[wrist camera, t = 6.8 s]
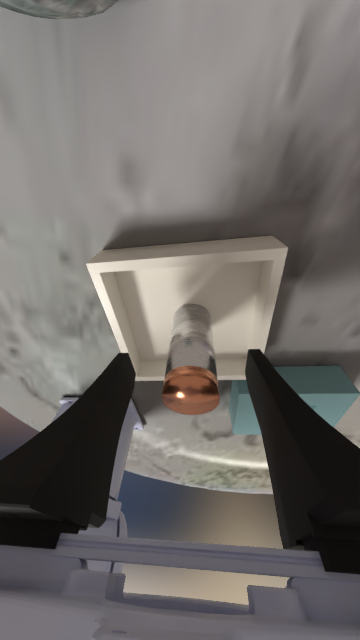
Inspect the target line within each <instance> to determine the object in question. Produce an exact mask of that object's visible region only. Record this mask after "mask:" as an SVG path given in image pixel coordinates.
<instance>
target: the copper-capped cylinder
mask: <svg viewBox="0 0 360 640" xmlns="http://www.w3.org/2000/svg"><path fill="white" fill-rule="evenodd" d="M162 401H163V403H164V404H165V405H166V406H167V407H168V408H169V409H171V410H173V411H175V412H178V413H182V414H189V415H197V414H203V413H207V412H210V411H212V410H213V409H215V408H216V407H217V406H218V404H219V402H220V397H219V388H218V379H217V369H216V360H215V351H214V341H213V332H212V323H211V315H210V313H209V311H208V310H207V309H206V308H205V307H203V306H201V305H198V304H186V305H183V306H181V307H180V308H178V309H177V311H176V312H175V314H174V319H173V325H172V332H171V338H170V345H169V352H168V358H167V365H166V371H165V378H164V385H163V391H162Z"/></svg>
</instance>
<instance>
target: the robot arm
mask: <svg viewBox="0 0 360 640" xmlns="http://www.w3.org/2000/svg"><path fill="white" fill-rule="evenodd" d="M245 376H246V381H247V387H248V391H249V394H250V397H251V401H252V404H253V407H254V410H255V414H256V417H257V420H258V423H259V427H260V430H261V434H262V438H263V443H264V448H265V452H266V457H267V462H268V467H269V472H270V478H271V483H272V489H273V494H274V499H275V506H276V512H277V518H278V524H279V530H280V536H281V540H282V545H283V548H284V549H276V548H262V547H249V546H234V545H220V544H207V543H192V542H179V541H166V540H152V539H138V538H127V526H126V522H125V517H124V514H123V513H122V512H121V511H120V509H121V504H122V503H121V502H117V498H118V494H119V489H120V485H121V481H122V477H123V472H124V468H125V464H126V459H127V455H128V451H129V447H130V442H131V438H132V434H133V430H143V429H144V426H143V423H142V421H141V419H140V416H139V414H138V412H137V410H136V407H135V405H134V403H133V401H132V399H131V396H132V393H133V389H134V383H135V377H136V372H135V370H134V367H133V364H132V361H131V359H130V356H129V353H118V355H117V356H116V357H115V358H114V359H113V361H112V362H111V363H110V364H109V365H108V367H107V368H106V369H105V370H104V371H103V372H102V374H101V375H100V376H99V377H98V378H97V379H96V381H95V382H94V383H93V384H92V385H91V386H90V387H89V388H88V389H87V390H86V391H85V392H84V394H83V395H82V396H81V397H80V398H61V399H60V400H59V402H60V403H61V404H62V405H61V407H60V409H59V411H58V412H57V414H56V416H55V418H54V419H53V421H52V423H51V424H50V425H48V426H47V427H46V428H45V429H44V430H42V431H41V432H40V433H38V434H37V435H36V436H34V437H33V438H32V439H31V440H29V441H28V442H26V443H25V444H24V445H23V446H21V447H19V448H18V449H17V450H16V451H14V452H12V453H11V454H9V455H8V456H6V457H5V458H3V459H2V460H0V640H360V448H358V447H357V446H356V445H355V444H353V443H352V442H351V441H349V440H348V439H347V438H346V437H345V436H343V435H342V434H341V433H340V432H338V431H337V430H336V429H335V428H334V427H332V426H331V425H330V424H329V423H328V422H326V421H325V420H324V419H323V418H322V417H321V416H320V415H319V414H317V413H316V412H315V411H314V410H313V409H312V408H311V407H310V406H309V405H308V404H307V403H306V402H305V401H304V400H303V399H302V398H301V397H300V396H299V395H298V394H297V393H296V392H295V391H294V390H293V389H292V388H291V387H290V386H289V384H288V383H287V382H286V381H285V380H284V379H283V378H282V376H281V375H280V374H279V373H278V372H277V371H276V369H275V368H274V367H273V366H272V364H271V363H270V362H269V361H268V359H267V358H266V357H265V355H264V354H263V353H262V351H261V350H260V349H248V355H247V361H246V367H245ZM124 563H130V564H143V565H154V566H165V567H177V568H188V569H200V570H212V571H223V572H235V573H246V574H258V575H269V576H280V577H292V578H289V580H288V581H287V586H286V588H275V587H264V586H253V585H248V587H247V592H248V600H249V605H243V604H235V603H227V602H219V601H211V600H202V599H193V598H182V597H173V596H161V595H148V594H136V593H124V592H123V588H124V582H125V577H126V576H125V574H123V573H121V572H122V568H123V564H124Z"/></svg>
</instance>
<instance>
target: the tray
mask: <svg viewBox="0 0 360 640" xmlns="http://www.w3.org/2000/svg"><path fill="white" fill-rule="evenodd" d="M287 251H288V247H287V246H285V245H284V244H283V243H282V242H280V241H279V240H278V239H277V238H275V237H274V236H273V235H272V236H260V237H249V238H237V239H226V240H214V241H202V242H191V243H179V244H168V245H156V246H144V247H133V248H121V249H110V250H102V251H101V252H99V253H98V254H97V255H96V256H95V257H93V258H92V259H91V260H90V261H89V262H88V263H86V265H87V267H88V270H89V272H90V275H91V277H92V280H93V282H94V285H95V288H96V290H97V293H98V295H99V298H100V300H101V303H102V305H103V308H104V310H105V313H106V315H107V318H108V320H109V323H110V325H111V328H112V330H113V333H114V335H115V338H116V340H117V343H118V345H119V348H120V350H121V353H129V356H130V359H131V361H132V364H133V367H134V370H135V372H136V377H135V381H164V378H165V371H166V365H167V358H168V352H169V345H170V338H171V332H172V325H173V319H174V314H175V312H176V311H177V309H178V308H180V307H181V306H183V305H186V304H198V305H201V306H203V307H205V308H206V309H207V310H208V311H209V313H210V315H211V323H212V332H213V341H214V351H215V360H216V369H217V379H218V380H246V376H245V367H246V361H247V355H248V349H260V350H261V351H262V353H263V354H264V352H265V347H266V343H267V338H268V334H269V330H270V325H271V321H272V317H273V312H274V308H275V304H276V299H277V295H278V290H279V286H280V282H281V277H282V273H283V269H284V264H285V260H286V256H287Z"/></svg>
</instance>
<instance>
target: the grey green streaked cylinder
mask: <svg viewBox="0 0 360 640" xmlns="http://www.w3.org/2000/svg"><path fill="white" fill-rule="evenodd" d="M116 2H118V0H0V6H1V7H4V8H7V9H9V10H12V11H15V12H18V13H22V14H26V15H30V16H34V17H41V18H48V19H70V18H83V17H88V16H92V15H96V14H100V13H103V12H104V11H106V10H107V9H108V8H110V7H111V6H112V5H114V4H115V3H116Z"/></svg>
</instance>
